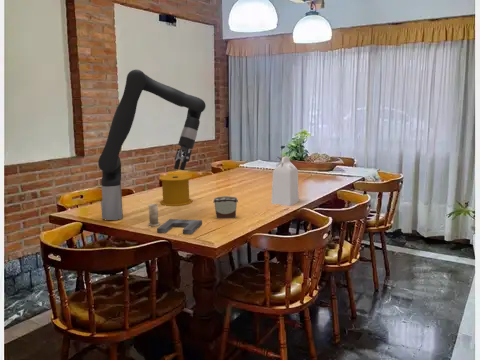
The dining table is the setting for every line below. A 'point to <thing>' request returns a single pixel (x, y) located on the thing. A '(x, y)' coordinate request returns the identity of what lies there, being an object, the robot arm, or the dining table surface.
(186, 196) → the spool
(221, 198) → the food container
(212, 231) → the dining table surface
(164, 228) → the notched board
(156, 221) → the bobbin
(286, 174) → the milk
